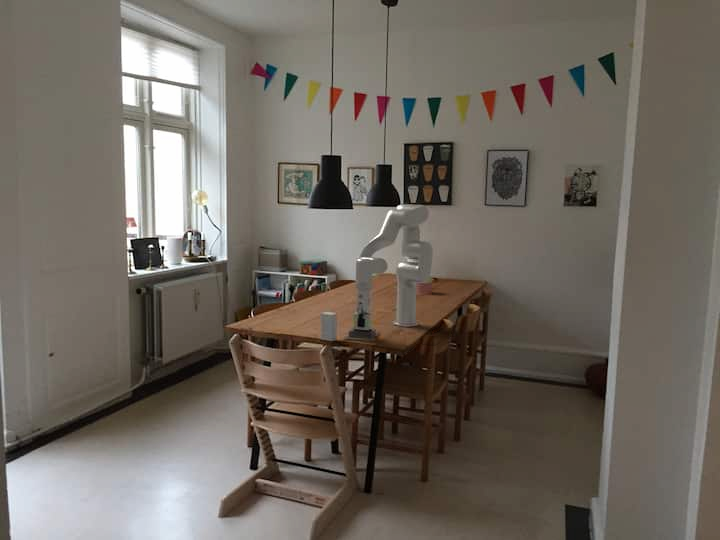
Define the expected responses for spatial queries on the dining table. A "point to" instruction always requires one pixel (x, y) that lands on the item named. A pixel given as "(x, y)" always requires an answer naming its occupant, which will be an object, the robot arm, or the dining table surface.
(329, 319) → the skincare box
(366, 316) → the key block
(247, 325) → the dining table surface
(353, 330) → the keyed holder
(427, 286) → the canned food
